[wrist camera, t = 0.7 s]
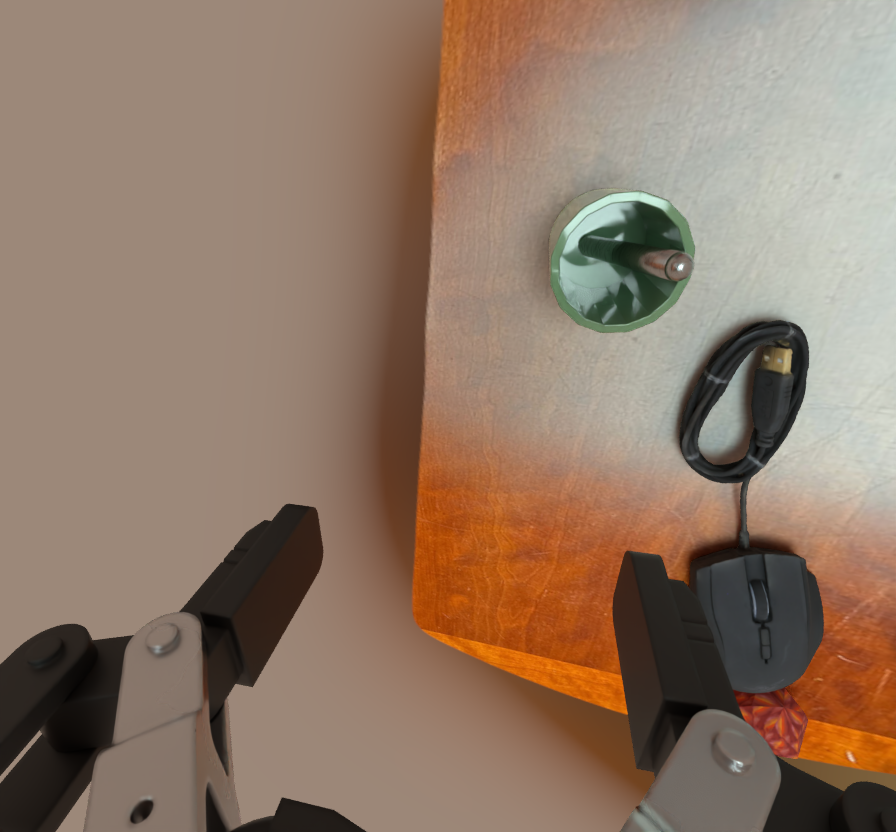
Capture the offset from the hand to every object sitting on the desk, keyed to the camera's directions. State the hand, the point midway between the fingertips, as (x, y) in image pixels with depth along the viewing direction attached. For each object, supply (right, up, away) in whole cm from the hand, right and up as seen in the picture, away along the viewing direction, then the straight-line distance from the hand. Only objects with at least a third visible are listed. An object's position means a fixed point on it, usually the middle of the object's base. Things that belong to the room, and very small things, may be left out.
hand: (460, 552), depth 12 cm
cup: (+9, +14, +16) cm, 23 cm away
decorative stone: (+28, -21, +31) cm, 47 cm away
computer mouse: (+23, -4, +23) cm, 33 cm away
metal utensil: (+9, +14, +16) cm, 23 cm away
